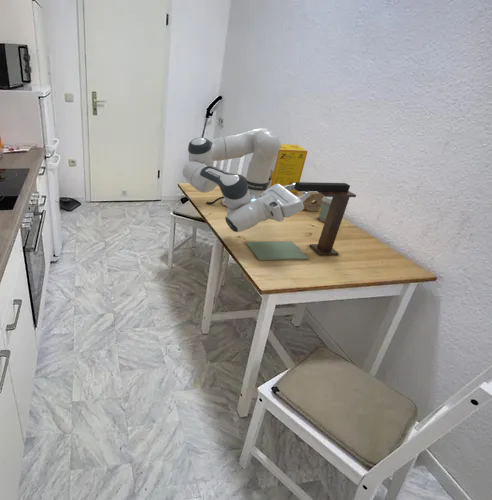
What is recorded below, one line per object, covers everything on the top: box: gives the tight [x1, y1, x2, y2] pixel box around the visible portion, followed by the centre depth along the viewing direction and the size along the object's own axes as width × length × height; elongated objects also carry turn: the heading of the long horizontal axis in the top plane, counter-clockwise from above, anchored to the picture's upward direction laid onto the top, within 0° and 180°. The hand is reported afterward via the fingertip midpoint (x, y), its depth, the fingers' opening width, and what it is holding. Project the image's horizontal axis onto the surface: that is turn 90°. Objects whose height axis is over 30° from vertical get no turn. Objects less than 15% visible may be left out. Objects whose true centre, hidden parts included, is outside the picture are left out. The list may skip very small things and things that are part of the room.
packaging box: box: [268, 143, 308, 195], centre depth 214 cm, size 16×16×25 cm
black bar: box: [294, 181, 351, 193], centre depth 135 cm, size 20×3×2 cm, turn 96°
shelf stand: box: [309, 190, 357, 256], centre depth 142 cm, size 14×10×26 cm
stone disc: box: [303, 191, 324, 212], centre depth 187 cm, size 10×4×10 cm, turn 89°
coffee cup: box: [318, 196, 333, 223], centre depth 176 cm, size 8×8×12 cm
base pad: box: [246, 241, 309, 261], centre depth 146 cm, size 20×14×1 cm
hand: (302, 189), depth 135 cm, fingers open, 8 cm apart
